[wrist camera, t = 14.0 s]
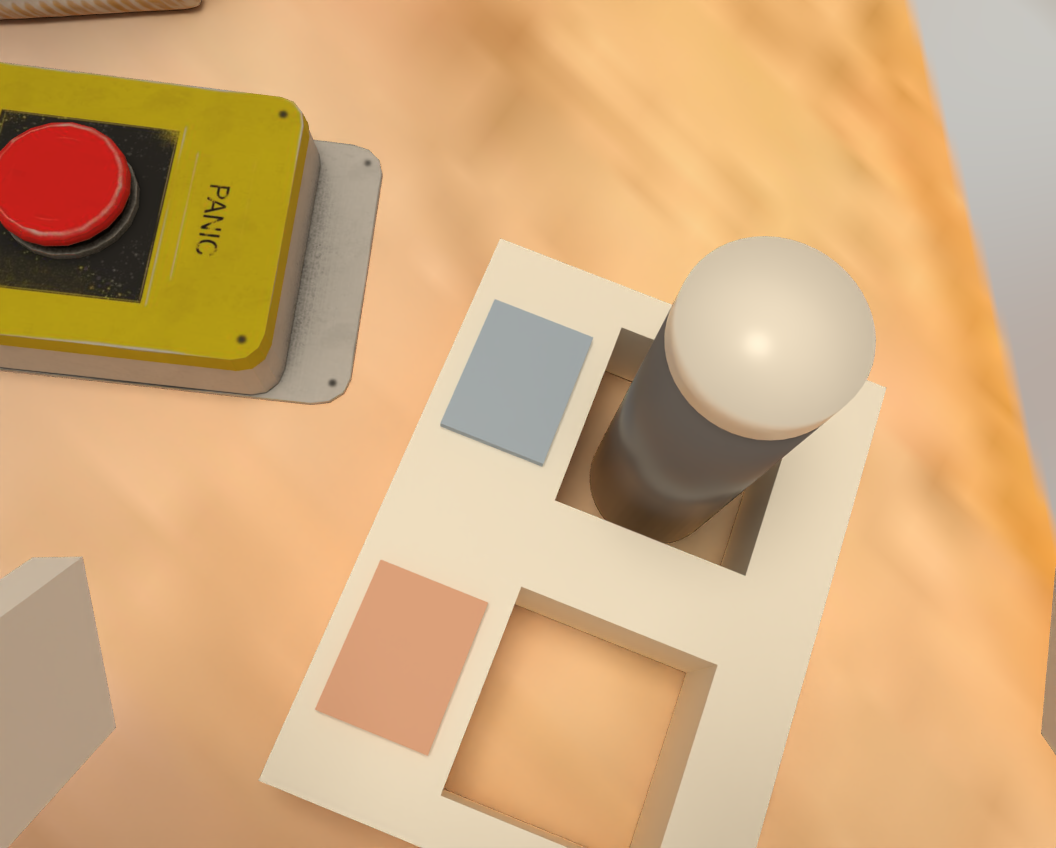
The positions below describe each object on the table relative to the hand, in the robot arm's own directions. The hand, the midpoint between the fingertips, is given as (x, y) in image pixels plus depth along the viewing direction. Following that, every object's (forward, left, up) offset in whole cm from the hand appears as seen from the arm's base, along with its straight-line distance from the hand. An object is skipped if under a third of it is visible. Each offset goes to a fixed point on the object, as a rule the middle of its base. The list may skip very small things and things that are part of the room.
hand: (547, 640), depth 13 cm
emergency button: (-16, +9, -16) cm, 24 cm away
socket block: (+1, +4, -16) cm, 16 cm away
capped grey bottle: (+2, +8, -16) cm, 18 cm away
